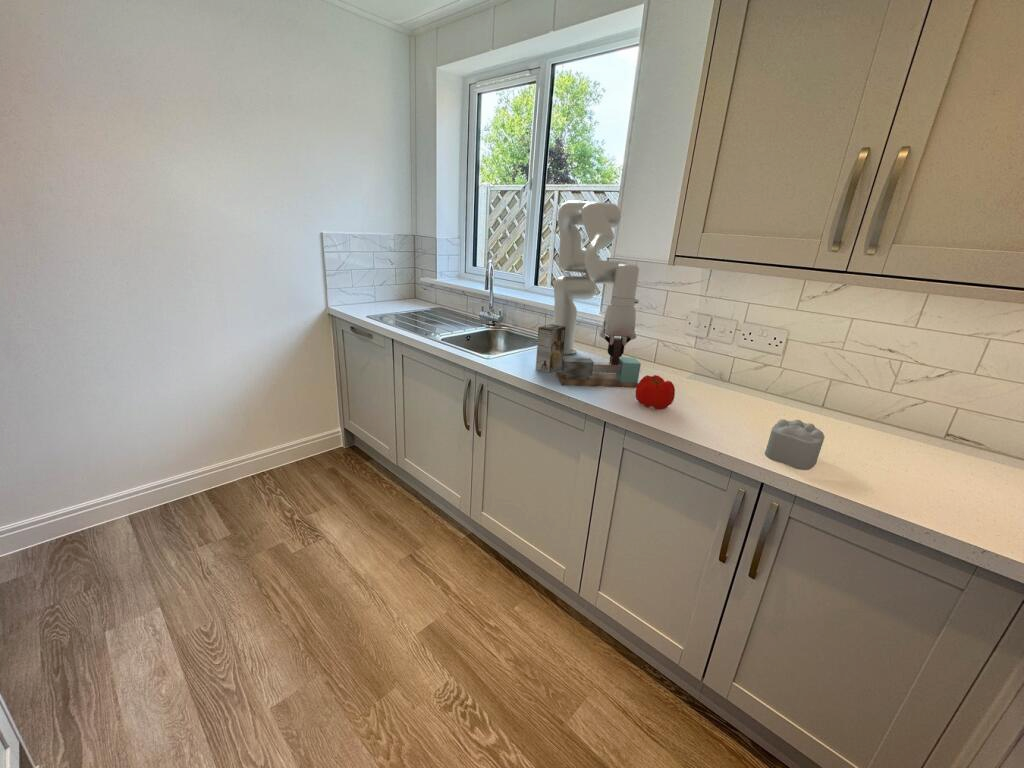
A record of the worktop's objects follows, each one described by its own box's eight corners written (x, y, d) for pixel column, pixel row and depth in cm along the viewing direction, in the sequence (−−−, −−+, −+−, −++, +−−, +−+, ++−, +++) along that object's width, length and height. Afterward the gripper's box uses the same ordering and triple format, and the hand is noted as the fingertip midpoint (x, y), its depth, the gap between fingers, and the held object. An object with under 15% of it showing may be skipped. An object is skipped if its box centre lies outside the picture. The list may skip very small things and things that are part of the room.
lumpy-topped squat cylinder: (760, 456, 110) (769, 424, 107) (777, 441, 119) (785, 411, 116) (807, 473, 103) (818, 439, 100) (822, 456, 112) (832, 425, 109)
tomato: (627, 400, 141) (631, 373, 138) (660, 399, 144) (665, 372, 141) (644, 414, 131) (649, 385, 128) (680, 412, 134) (685, 384, 131)
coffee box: (548, 364, 172) (551, 323, 167) (562, 368, 169) (566, 326, 164) (534, 369, 166) (538, 326, 160) (549, 373, 162) (553, 330, 157)
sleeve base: (561, 385, 150) (563, 364, 148) (556, 373, 162) (558, 354, 159) (639, 388, 152) (642, 367, 150) (629, 376, 164) (632, 357, 161)
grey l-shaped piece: (586, 372, 154) (590, 338, 150) (584, 369, 157) (588, 336, 153) (631, 374, 155) (636, 340, 151) (628, 371, 158) (633, 338, 154)
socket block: (620, 382, 154) (623, 362, 152) (615, 375, 160) (617, 357, 158) (637, 382, 154) (640, 363, 152) (631, 376, 161) (634, 357, 159)
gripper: (642, 301, 152) (634, 353, 158) (596, 299, 151) (589, 351, 157) (650, 305, 145) (641, 359, 151) (601, 303, 144) (594, 357, 150)
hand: (615, 355), depth 154 cm, fingers closed on grey l-shaped piece, 2 cm apart
